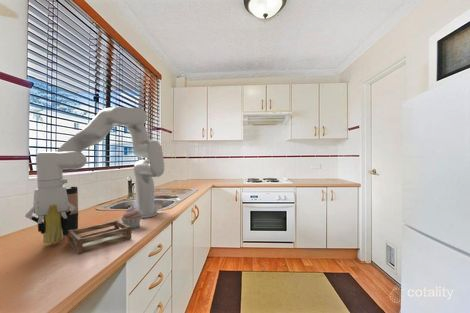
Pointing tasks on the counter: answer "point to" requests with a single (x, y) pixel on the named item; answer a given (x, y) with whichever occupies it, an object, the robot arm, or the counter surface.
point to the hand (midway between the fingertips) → (52, 230)
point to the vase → (52, 225)
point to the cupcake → (131, 217)
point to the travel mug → (73, 216)
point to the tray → (98, 236)
